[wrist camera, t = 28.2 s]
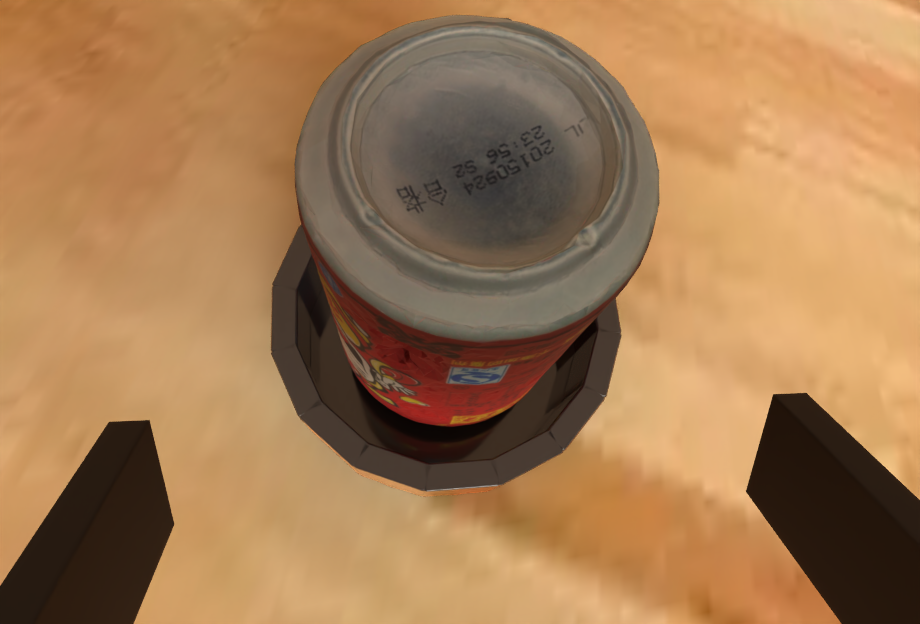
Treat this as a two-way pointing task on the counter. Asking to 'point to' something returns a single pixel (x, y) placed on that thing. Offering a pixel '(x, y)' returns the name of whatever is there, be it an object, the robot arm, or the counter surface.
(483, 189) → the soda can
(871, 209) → the counter surface
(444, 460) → the holder
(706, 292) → the counter surface
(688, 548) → the counter surface
